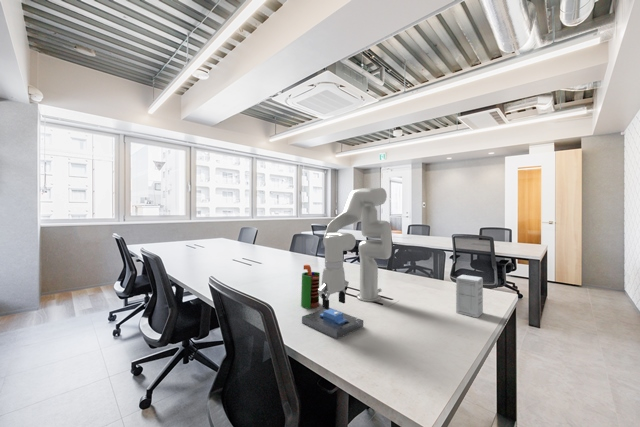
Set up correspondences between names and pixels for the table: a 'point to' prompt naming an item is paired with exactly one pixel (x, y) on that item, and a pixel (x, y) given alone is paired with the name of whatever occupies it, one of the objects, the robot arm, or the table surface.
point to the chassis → (330, 328)
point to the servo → (333, 317)
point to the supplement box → (469, 295)
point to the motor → (310, 288)
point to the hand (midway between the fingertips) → (334, 305)
